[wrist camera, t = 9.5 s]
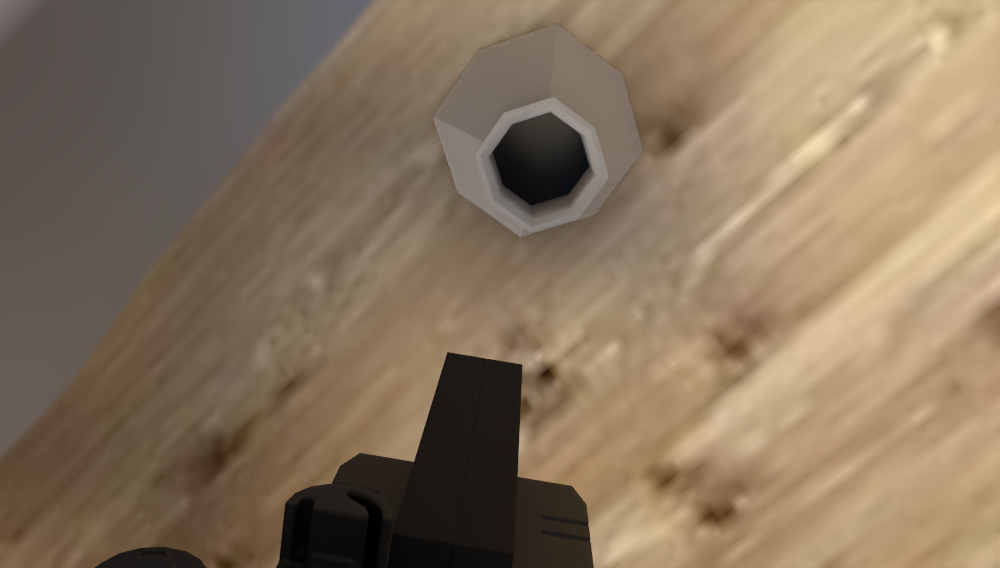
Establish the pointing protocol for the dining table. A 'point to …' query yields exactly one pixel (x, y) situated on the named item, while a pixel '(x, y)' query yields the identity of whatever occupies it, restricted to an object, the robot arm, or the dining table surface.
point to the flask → (538, 130)
